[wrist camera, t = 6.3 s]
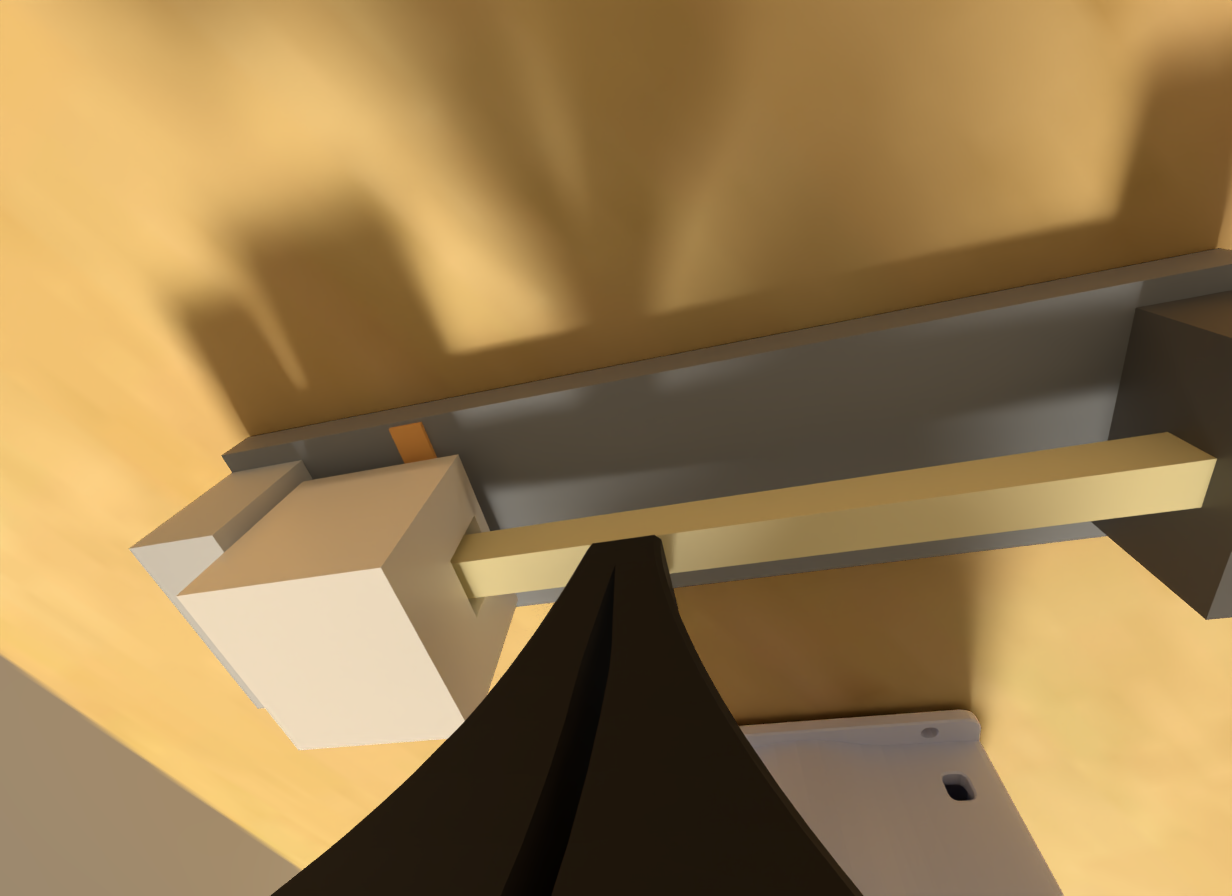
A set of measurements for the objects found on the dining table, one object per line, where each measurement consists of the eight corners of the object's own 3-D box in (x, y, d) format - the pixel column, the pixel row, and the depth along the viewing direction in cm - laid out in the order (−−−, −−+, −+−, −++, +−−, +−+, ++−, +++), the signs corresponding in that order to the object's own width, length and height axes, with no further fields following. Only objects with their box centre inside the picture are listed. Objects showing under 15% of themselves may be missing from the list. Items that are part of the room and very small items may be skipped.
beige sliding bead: (458, 454, 12) (380, 568, 9) (518, 599, 14) (473, 736, 11) (302, 481, 13) (176, 595, 9) (380, 615, 15) (298, 750, 11)
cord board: (1218, 247, 10) (1500, 294, 7) (1149, 502, 13) (1327, 627, 10) (248, 437, 14) (113, 529, 11) (349, 604, 17) (267, 721, 13)
